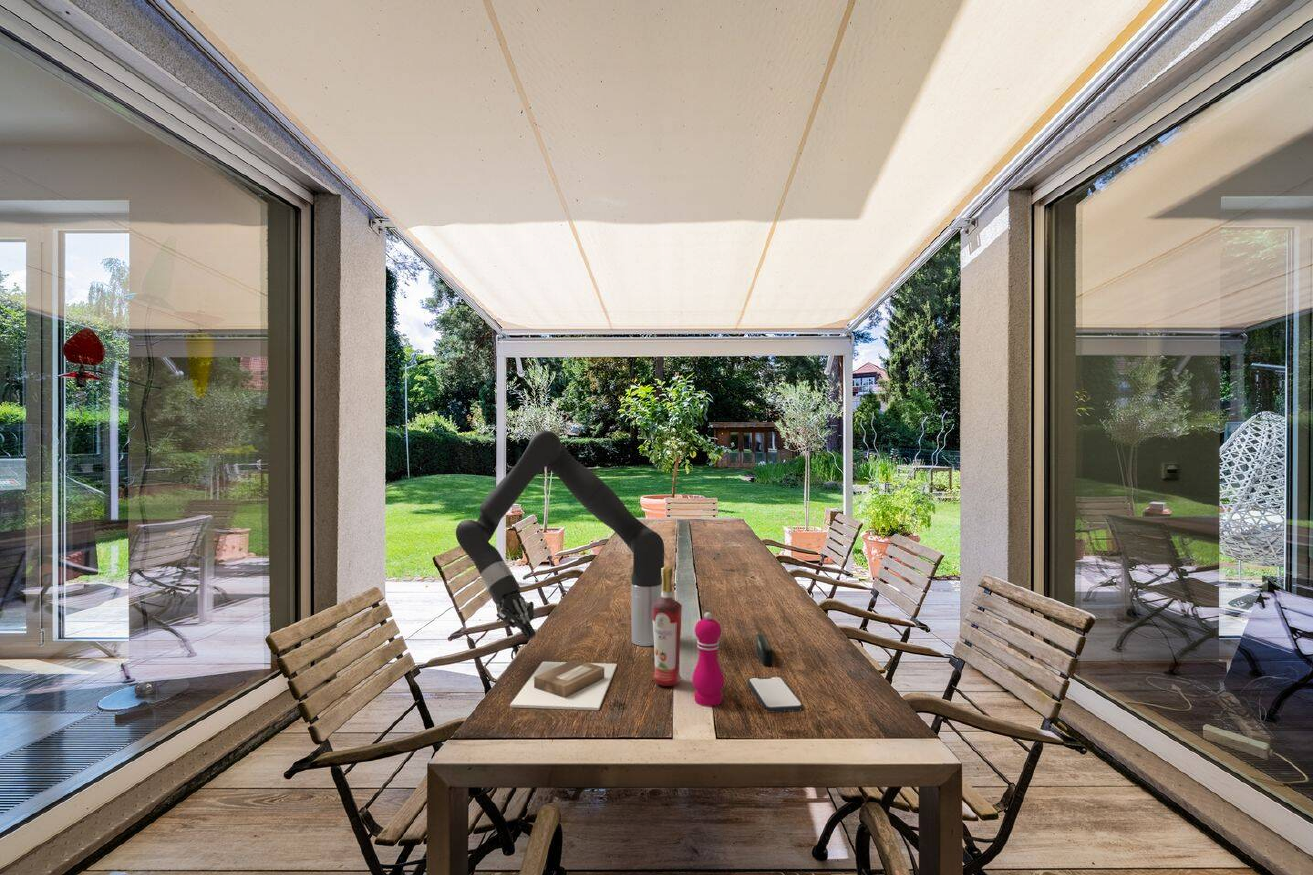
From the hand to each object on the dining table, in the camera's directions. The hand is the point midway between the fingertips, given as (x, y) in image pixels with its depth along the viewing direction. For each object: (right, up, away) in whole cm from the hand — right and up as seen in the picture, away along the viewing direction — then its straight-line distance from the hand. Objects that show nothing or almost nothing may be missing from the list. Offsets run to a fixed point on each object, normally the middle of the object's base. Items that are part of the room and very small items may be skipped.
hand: (531, 637), depth 150 cm
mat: (+11, -8, -9) cm, 16 cm away
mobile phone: (+62, -9, +10) cm, 63 cm away
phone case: (+60, -9, -15) cm, 62 cm away
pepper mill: (+44, -8, -18) cm, 48 cm away
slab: (+7, -6, -6) cm, 12 cm away
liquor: (+35, -8, -8) cm, 37 cm away
